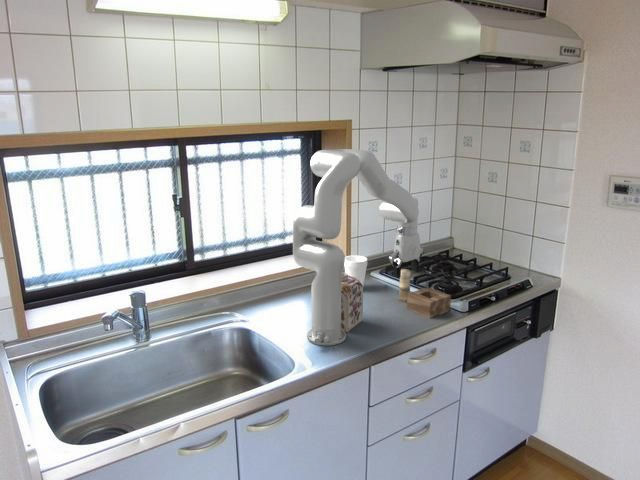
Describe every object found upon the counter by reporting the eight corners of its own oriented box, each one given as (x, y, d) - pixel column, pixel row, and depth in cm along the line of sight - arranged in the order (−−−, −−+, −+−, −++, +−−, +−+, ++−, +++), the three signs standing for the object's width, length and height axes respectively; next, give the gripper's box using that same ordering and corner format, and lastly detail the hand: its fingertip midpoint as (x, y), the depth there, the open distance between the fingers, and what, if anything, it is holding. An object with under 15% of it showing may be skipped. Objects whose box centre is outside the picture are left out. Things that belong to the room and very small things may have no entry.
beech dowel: (409, 302, 197) (410, 272, 194) (398, 302, 198) (399, 272, 195) (409, 298, 201) (410, 269, 198) (398, 298, 202) (400, 268, 199)
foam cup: (366, 285, 216) (367, 255, 212) (366, 293, 207) (367, 262, 203) (344, 285, 216) (344, 255, 213) (342, 292, 208) (343, 261, 204)
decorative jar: (347, 333, 172) (347, 282, 167) (317, 325, 177) (317, 276, 173) (363, 320, 181) (364, 271, 177) (334, 313, 187) (334, 266, 183)
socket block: (429, 318, 183) (430, 302, 181) (406, 308, 191) (407, 293, 190) (450, 310, 189) (451, 295, 188) (427, 301, 198) (428, 287, 196)
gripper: (398, 236, 184) (397, 281, 189) (430, 228, 195) (428, 271, 199) (383, 232, 190) (382, 276, 195) (415, 224, 200) (414, 266, 205)
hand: (406, 273), depth 197 cm, fingers open, 9 cm apart
